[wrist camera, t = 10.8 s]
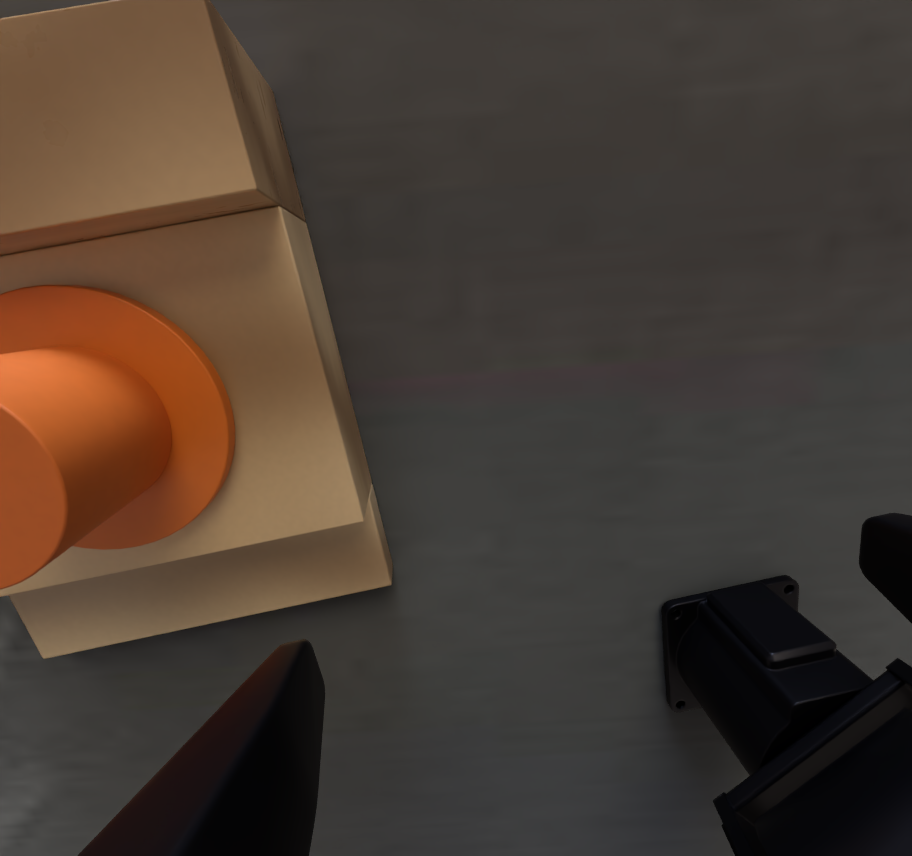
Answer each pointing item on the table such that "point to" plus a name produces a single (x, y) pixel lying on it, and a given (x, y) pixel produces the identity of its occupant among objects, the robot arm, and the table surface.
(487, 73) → the table surface
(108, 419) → the hat
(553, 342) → the table surface
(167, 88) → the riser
